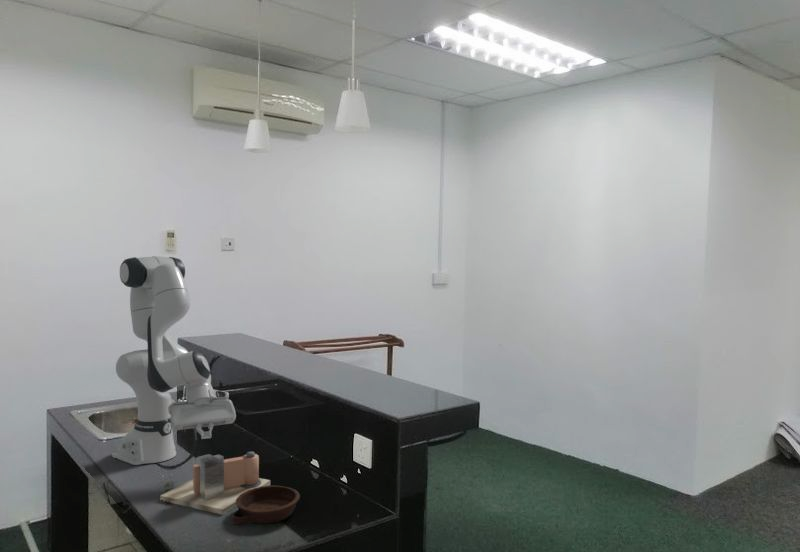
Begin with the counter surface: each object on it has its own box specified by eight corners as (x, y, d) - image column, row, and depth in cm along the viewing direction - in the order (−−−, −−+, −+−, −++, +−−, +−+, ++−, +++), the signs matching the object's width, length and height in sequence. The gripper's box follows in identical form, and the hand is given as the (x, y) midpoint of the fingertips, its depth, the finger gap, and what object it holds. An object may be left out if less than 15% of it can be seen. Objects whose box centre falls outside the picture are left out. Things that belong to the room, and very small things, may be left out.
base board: (160, 500, 174) (160, 494, 174) (212, 473, 195) (212, 467, 195) (222, 514, 165) (222, 508, 165) (270, 484, 186) (270, 479, 186)
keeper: (215, 489, 179) (215, 452, 178) (223, 494, 175) (223, 456, 175) (196, 495, 174) (196, 457, 174) (204, 500, 171) (204, 461, 170)
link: (256, 477, 187) (256, 449, 186) (260, 483, 182) (260, 454, 182) (192, 489, 177) (192, 459, 176) (195, 495, 173) (195, 464, 172)
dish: (317, 510, 170) (318, 493, 169) (254, 538, 153) (254, 519, 152) (279, 493, 181) (279, 477, 180) (216, 518, 164) (216, 500, 163)
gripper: (168, 398, 187) (173, 437, 180) (233, 391, 198) (240, 428, 190) (166, 408, 192) (170, 447, 184) (229, 401, 202) (236, 438, 194)
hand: (206, 437), depth 187 cm, fingers closed
